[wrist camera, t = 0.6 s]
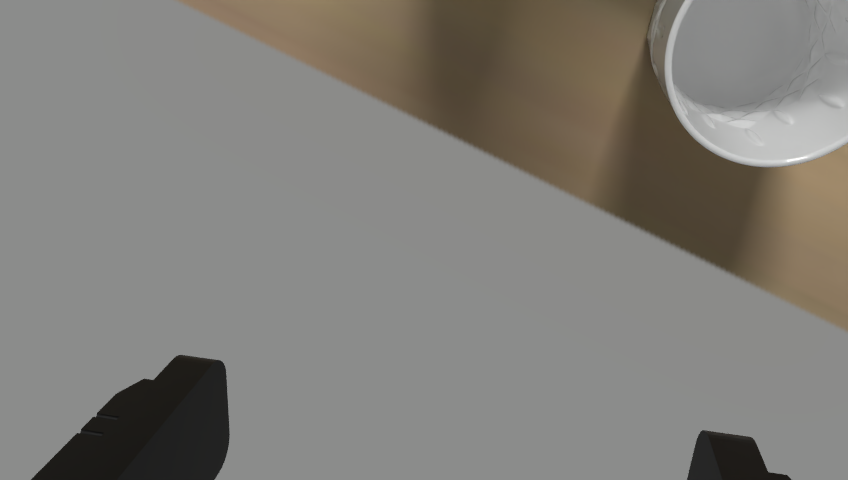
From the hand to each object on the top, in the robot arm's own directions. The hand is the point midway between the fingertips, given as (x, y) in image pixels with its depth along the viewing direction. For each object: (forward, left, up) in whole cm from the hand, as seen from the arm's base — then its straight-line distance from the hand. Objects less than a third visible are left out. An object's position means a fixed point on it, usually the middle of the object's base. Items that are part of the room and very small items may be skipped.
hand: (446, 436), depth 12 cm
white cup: (-7, +8, -27) cm, 29 cm away
